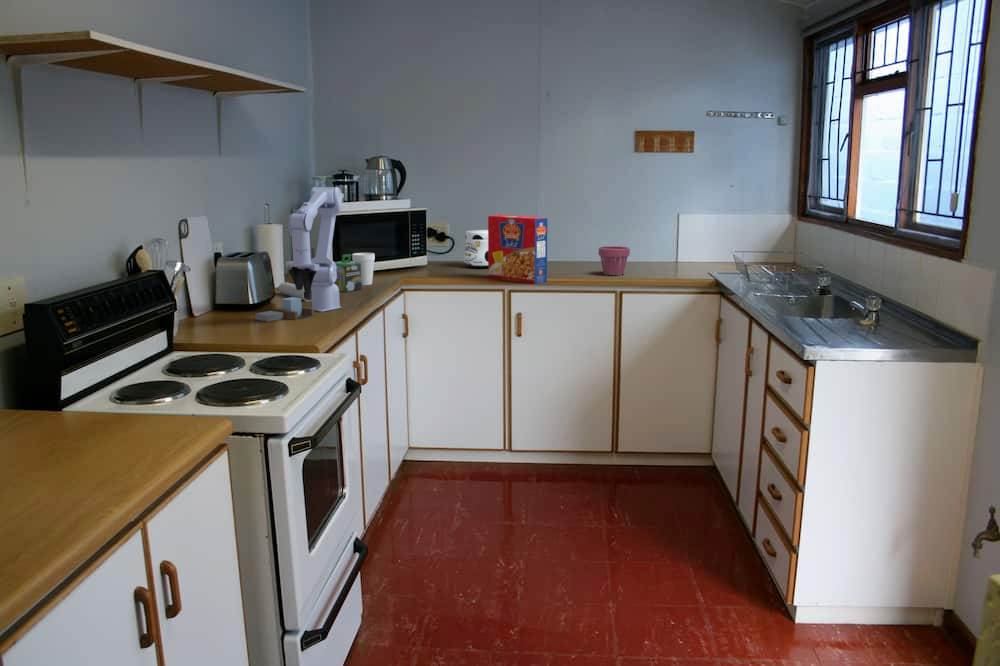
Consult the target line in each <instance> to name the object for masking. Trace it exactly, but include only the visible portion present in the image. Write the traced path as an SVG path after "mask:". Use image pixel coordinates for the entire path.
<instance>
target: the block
mask: <svg viewBox="0 0 1000 666" xmlns="http://www.w3.org/2000/svg"><path fill="white" fill-rule="evenodd" d="M281 307H282V309H283V310H289V311H296V312H298V316H303V315H302V307H303V306H302V300H301V298H295V297H291V296H289V297H286V298H285V297H284V298H282V299H281Z"/></svg>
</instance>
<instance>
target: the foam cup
mask: <svg viewBox="0 0 1000 666" xmlns="http://www.w3.org/2000/svg"><path fill="white" fill-rule="evenodd" d="M375 258H376V257H375V253H374V252H354V253H352V254H351V259H352V260H351V261H354V262H361V283H362V286H367V285H368V286H369V285H373V278H374V266H375V260H376V259H375Z"/></svg>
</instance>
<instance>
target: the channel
mask: <svg viewBox="0 0 1000 666" xmlns="http://www.w3.org/2000/svg"><path fill="white" fill-rule="evenodd" d="M275 312H281V313H283V319H289V320H302V319H306V318H311V317H312V318H313V317H315V315H316V314H315V312H316V311H314V309H313V308H311V307H308V306H307V307H304V306H302V316H298V312H296V311H289V310H283V308H282V309H281V308H276V309H275Z"/></svg>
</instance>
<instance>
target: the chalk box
mask: <svg viewBox="0 0 1000 666" xmlns="http://www.w3.org/2000/svg"><path fill="white" fill-rule="evenodd" d="M345 258H347V259H346V260H345ZM351 259H352V254H350V253H349V254H347V253H346V254H343V255H342V256H341V261H333V262H334V263H335V264H336V266H337V268H336V272H337V278H336V281H335V282H334V284H336V285H337V287H338V289H339V292H343V293H346V292H353V291H355V292H356V291H361V290H363V287H362V286H363V285H362V283H361V262H354V261H353V260H351Z"/></svg>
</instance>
